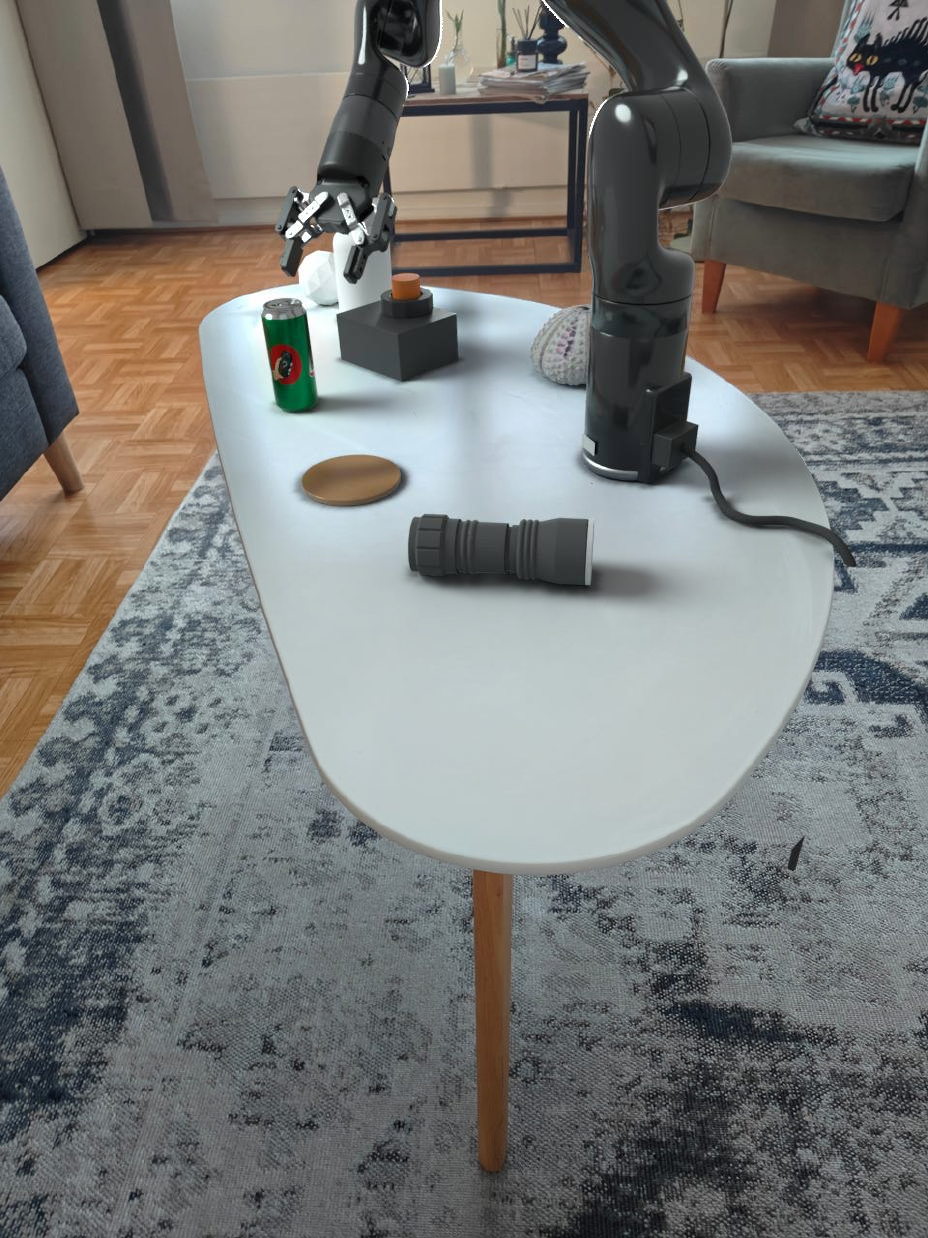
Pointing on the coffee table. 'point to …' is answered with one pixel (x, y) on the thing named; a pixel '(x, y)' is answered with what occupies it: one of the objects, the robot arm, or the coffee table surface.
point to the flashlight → (503, 548)
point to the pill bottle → (373, 276)
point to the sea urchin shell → (564, 346)
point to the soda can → (289, 354)
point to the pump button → (406, 286)
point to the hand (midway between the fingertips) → (318, 276)
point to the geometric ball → (319, 278)
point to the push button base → (398, 336)
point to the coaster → (351, 480)
